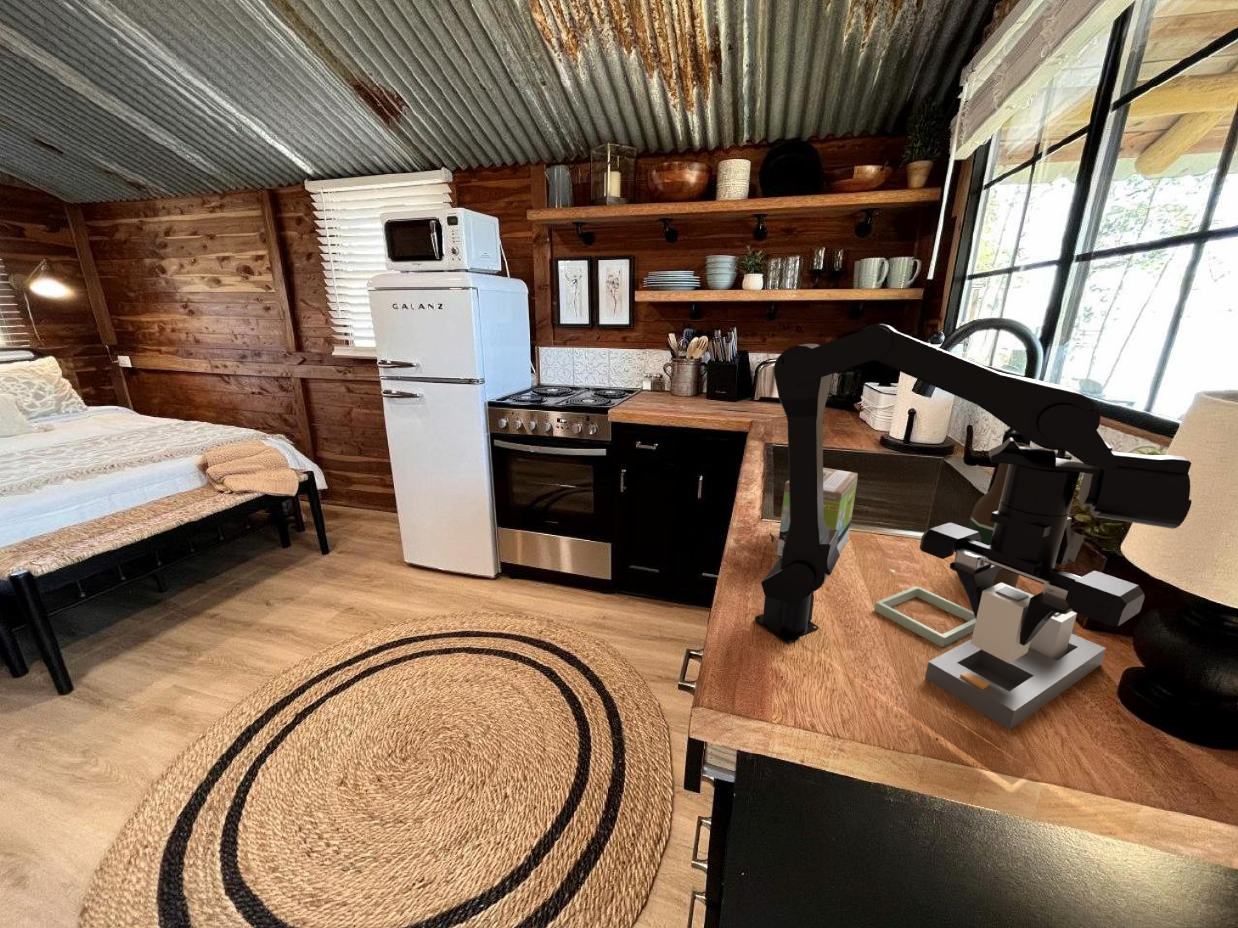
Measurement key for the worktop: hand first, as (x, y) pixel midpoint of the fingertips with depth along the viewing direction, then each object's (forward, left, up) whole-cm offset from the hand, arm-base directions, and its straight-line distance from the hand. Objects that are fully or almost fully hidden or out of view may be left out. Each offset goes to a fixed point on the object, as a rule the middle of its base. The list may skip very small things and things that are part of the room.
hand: (1001, 633), depth 57 cm
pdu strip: (+7, 0, -8) cm, 11 cm away
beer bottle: (+28, +14, -8) cm, 32 cm away
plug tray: (+8, +12, -8) cm, 16 cm away
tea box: (+13, +37, -8) cm, 40 cm away
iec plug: (0, 0, -2) cm, 2 cm away
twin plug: (+11, 0, -7) cm, 13 cm away
